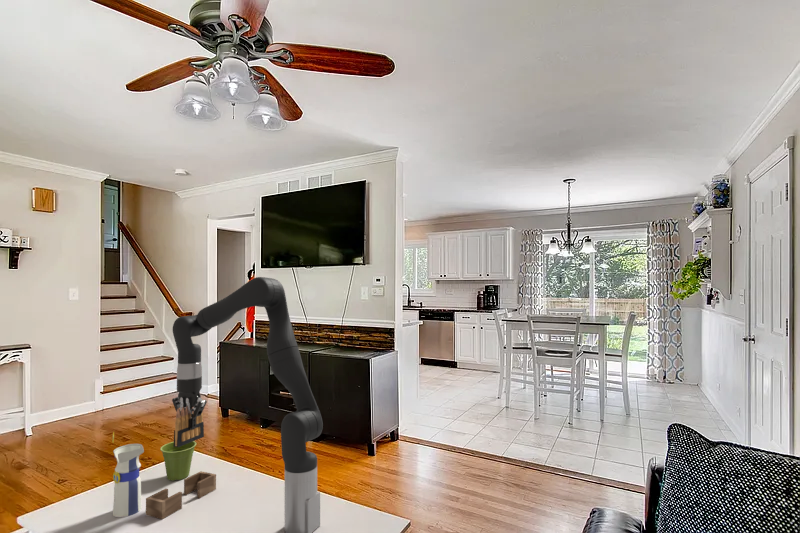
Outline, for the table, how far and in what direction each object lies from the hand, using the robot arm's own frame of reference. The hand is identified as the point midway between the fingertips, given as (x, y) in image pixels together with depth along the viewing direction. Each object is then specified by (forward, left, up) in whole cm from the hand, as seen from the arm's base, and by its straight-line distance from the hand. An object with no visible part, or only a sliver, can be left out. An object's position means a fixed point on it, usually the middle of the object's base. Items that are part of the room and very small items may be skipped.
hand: (189, 428), depth 146 cm
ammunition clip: (0, 0, -4) cm, 4 cm away
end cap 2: (0, -5, -23) cm, 23 cm away
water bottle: (+11, +13, -23) cm, 28 cm away
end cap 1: (0, +9, -23) cm, 24 cm away
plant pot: (+17, -11, -23) cm, 31 cm away
